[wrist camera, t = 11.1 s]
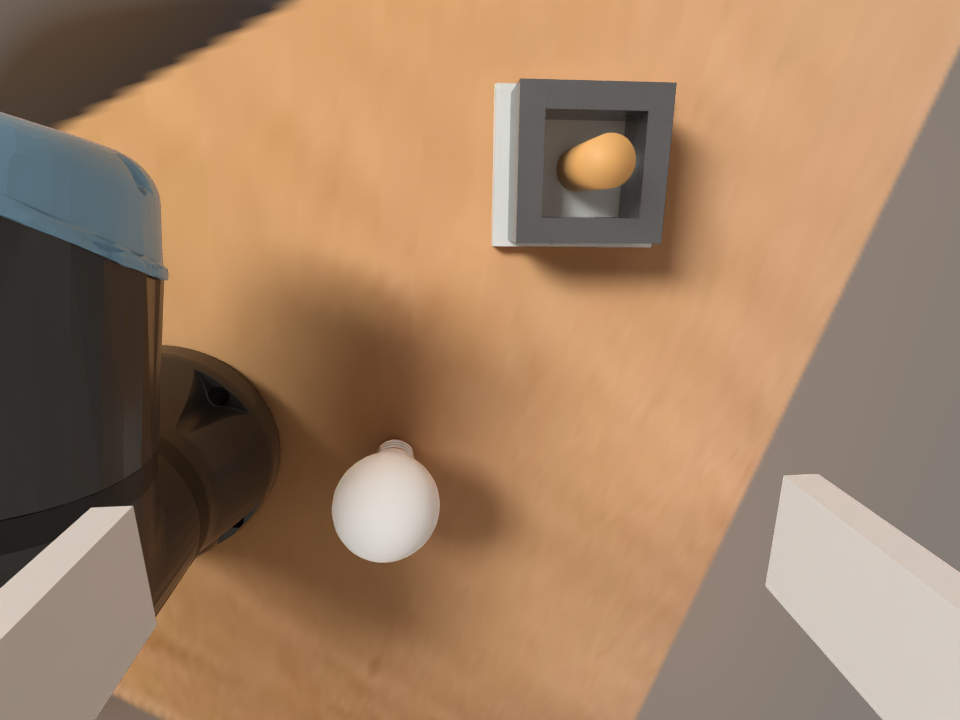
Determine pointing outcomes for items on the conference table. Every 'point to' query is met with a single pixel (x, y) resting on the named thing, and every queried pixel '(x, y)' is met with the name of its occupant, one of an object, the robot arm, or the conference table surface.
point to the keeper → (564, 170)
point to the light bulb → (386, 504)
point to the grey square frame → (599, 101)
